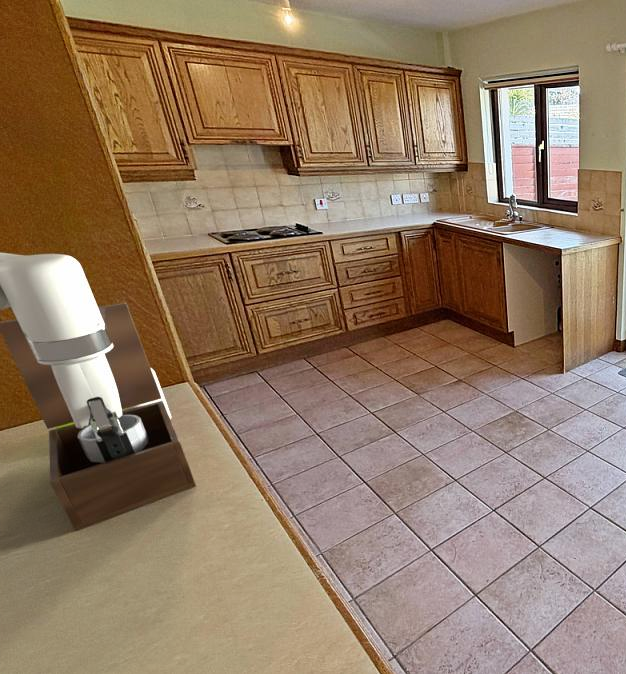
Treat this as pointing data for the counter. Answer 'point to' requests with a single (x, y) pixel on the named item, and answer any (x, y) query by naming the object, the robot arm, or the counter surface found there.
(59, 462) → the chest
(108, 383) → the robot arm
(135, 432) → the bowl
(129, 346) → the lid
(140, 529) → the counter surface
